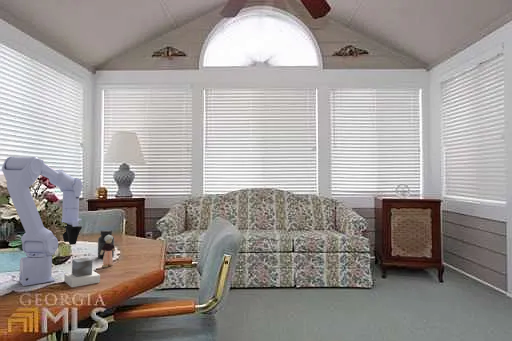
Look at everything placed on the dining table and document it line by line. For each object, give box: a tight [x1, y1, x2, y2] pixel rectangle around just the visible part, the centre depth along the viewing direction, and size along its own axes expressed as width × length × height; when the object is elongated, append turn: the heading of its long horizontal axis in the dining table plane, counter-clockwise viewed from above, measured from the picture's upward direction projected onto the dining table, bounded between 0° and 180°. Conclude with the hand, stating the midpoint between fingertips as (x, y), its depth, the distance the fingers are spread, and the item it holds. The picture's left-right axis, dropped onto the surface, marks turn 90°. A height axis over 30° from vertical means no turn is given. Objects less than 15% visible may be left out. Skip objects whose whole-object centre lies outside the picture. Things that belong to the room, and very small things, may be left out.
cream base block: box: [63, 269, 101, 288], centre depth 123 cm, size 9×9×3 cm
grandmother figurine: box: [100, 235, 116, 268], centre depth 146 cm, size 8×4×13 cm, turn 169°
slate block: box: [71, 257, 93, 277], centre depth 124 cm, size 5×5×5 cm
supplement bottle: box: [97, 229, 115, 259], centre depth 162 cm, size 7×7×12 cm
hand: (69, 243), depth 139 cm, fingers open, 7 cm apart
